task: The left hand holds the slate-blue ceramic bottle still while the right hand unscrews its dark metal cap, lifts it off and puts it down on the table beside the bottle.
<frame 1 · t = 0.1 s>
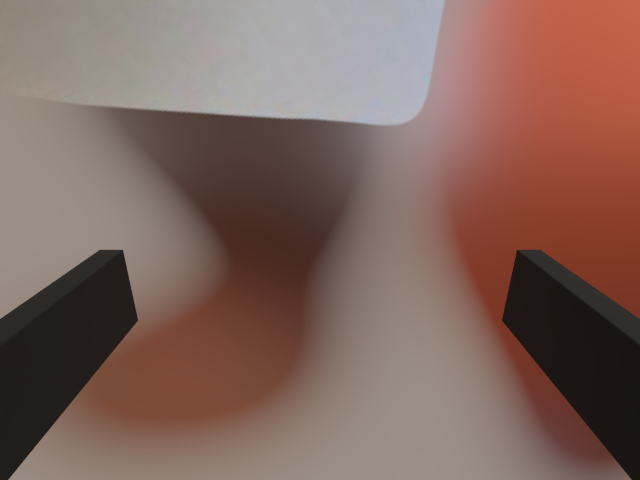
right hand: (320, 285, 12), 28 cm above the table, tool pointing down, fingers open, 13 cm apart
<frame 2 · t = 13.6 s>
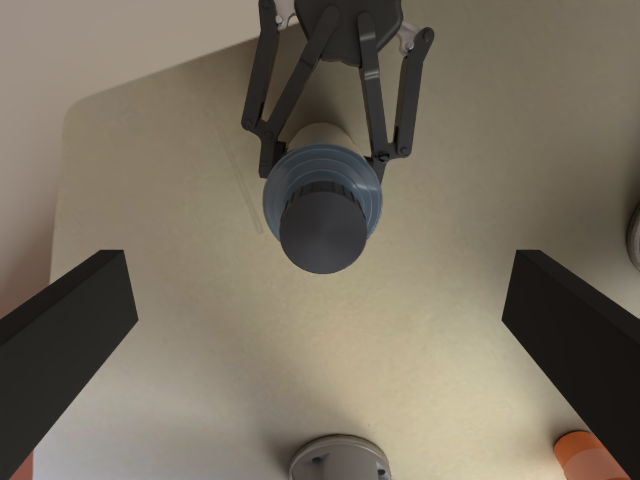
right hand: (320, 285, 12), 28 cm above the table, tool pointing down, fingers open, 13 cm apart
left hand: (312, 219, 34), fingers closed on bottle, 7 cm apart
cup with straw: (573, 444, 54), on the table
bottle: (321, 157, 39), on the table, touching left hand
cap: (323, 232, 17), point 23 cm above the table, screwed on, not yet turned
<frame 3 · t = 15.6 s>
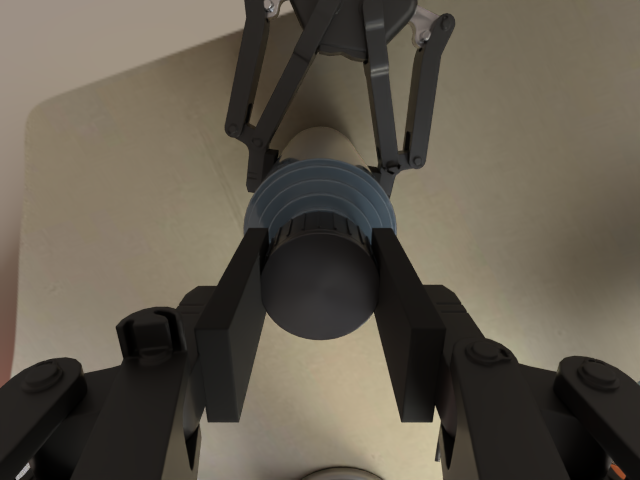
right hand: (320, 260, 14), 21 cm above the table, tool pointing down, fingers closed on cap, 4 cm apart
left hand: (310, 239, 30), fingers closed on bottle, 7 cm apart
cup with straw: (597, 477, 49), on the table
bottle: (320, 166, 34), on the table, touching left hand
cap: (320, 285, 12), point 23 cm above the table, screwed on, not yet turned, touching right hand
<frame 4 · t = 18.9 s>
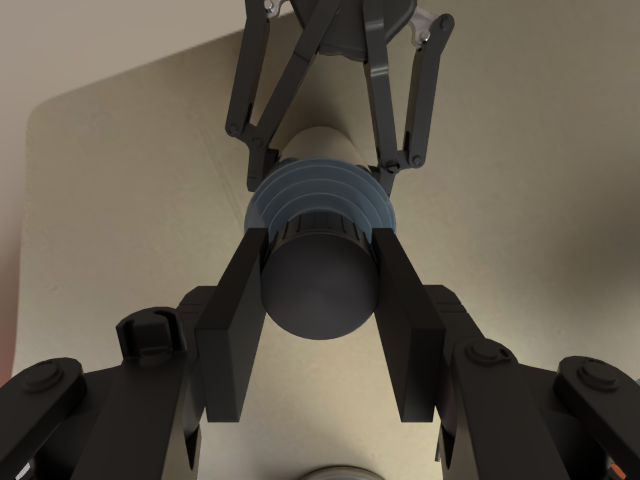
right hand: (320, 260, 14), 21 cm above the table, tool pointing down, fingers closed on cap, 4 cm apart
left hand: (310, 238, 30), fingers closed on bottle, 7 cm apart
cup with straw: (596, 476, 49), on the table
bottle: (320, 165, 34), on the table, touching left hand
cap: (320, 285, 12), point 23 cm above the table, turned 126° so far, risen 0.1 cm, still on its thread, touching right hand
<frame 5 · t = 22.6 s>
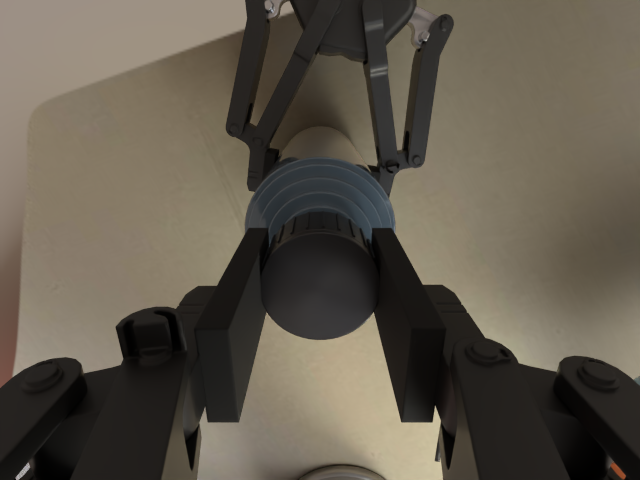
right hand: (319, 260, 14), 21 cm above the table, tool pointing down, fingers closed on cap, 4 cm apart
left hand: (310, 238, 30), fingers closed on bottle, 7 cm apart
cup with straw: (596, 475, 49), on the table
bottle: (320, 165, 34), on the table, touching left hand
cap: (320, 285, 12), point 23 cm above the table, turned 251° so far, risen 0.3 cm, still on its thread, touching right hand
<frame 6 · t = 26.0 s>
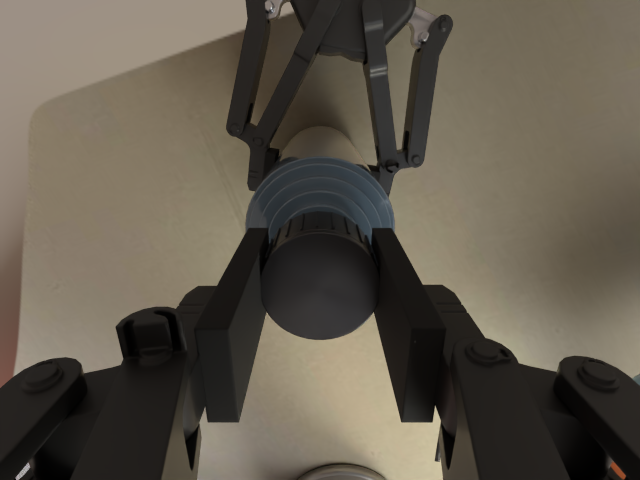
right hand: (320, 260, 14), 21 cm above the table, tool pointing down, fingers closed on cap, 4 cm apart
left hand: (310, 237, 30), fingers closed on bottle, 7 cm apart
cup with straw: (595, 473, 50), on the table
bottle: (320, 165, 34), on the table, touching left hand
cap: (320, 285, 12), point 24 cm above the table, turned 377° so far, risen 0.5 cm, still on its thread, touching right hand
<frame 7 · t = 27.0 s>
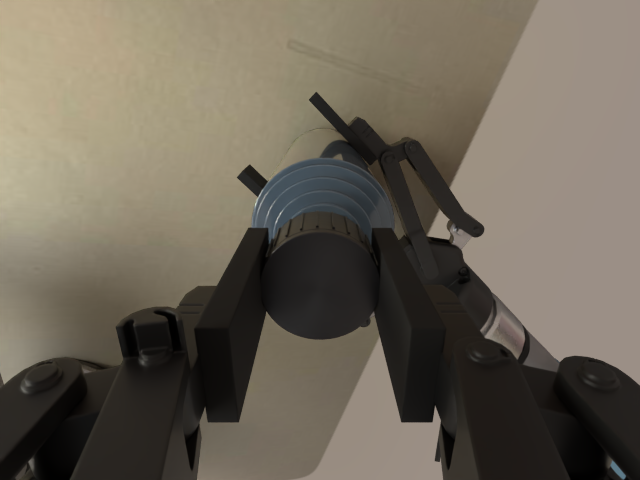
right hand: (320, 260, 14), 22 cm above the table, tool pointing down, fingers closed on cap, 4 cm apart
bottle: (322, 166, 35), on the table, touching left hand
cap: (320, 285, 12), point 24 cm above the table, off its thread, touching right hand
when the right hand's fingers open (2 cm above the table, at t = 33.5 s): cap drops 2 cm, point 2 cm above the table.
when the left hand's fingers open (6 cm above the table, at t = 34.7 s): bottle stays where it is, on the table.
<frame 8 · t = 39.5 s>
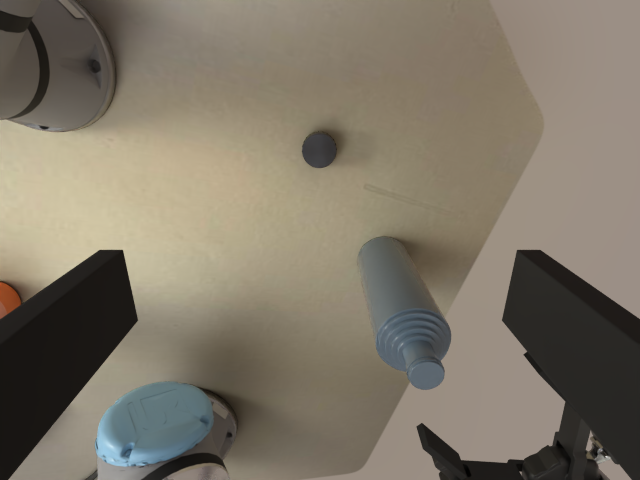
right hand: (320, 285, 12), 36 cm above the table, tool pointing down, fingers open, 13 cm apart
cup with straw: (1, 297, 54), on the table
bottle: (382, 260, 51), on the table
cap: (319, 150, 44), point 2 cm above the table, off its thread
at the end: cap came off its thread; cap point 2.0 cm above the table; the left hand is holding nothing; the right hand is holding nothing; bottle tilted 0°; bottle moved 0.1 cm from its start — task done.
